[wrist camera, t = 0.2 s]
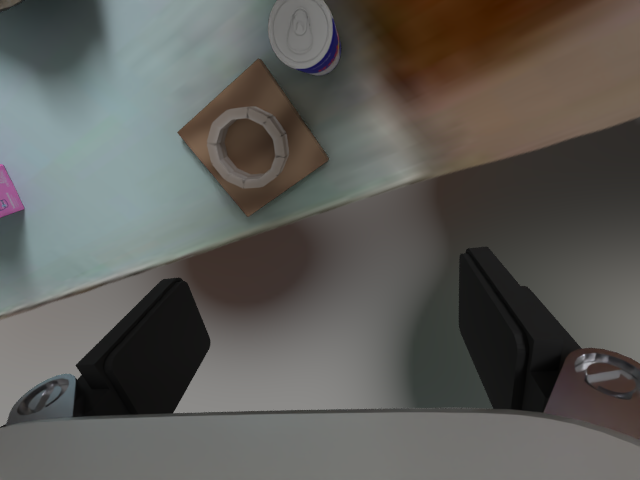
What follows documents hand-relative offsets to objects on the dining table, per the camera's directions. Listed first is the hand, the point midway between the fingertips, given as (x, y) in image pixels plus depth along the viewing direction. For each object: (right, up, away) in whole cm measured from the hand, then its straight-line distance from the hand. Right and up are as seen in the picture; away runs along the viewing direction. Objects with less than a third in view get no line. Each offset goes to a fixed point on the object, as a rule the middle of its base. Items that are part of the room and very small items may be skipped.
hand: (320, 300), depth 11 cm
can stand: (-9, +16, +34) cm, 39 cm away
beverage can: (0, +26, +28) cm, 38 cm away
